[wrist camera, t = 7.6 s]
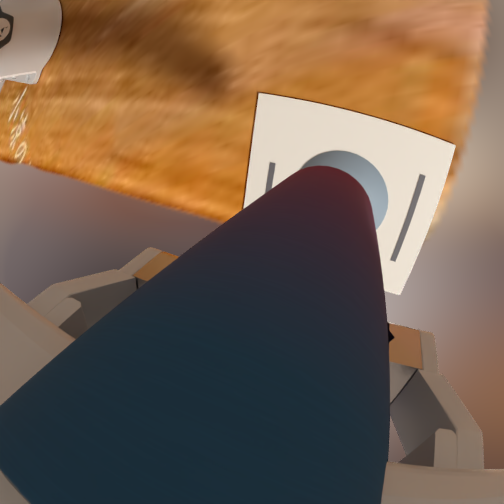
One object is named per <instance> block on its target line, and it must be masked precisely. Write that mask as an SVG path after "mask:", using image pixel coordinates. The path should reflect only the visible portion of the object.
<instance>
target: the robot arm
mask: <svg viewBox="0 0 504 504" xmlns="http://www.w3.org/2000/svg"><path fill="white" fill-rule="evenodd" d="M61 21H62V10H61V5H60V2H59V0H1V2H0V82H3V80H4V79H6V80H12V81H17V82H22V83H27V84H36V83H37V82H38V80H39V77H40V74H41V71H42V69H43V67H44V66H45V64H46V63H47V62H48V60H49V59H50V57H51V55H52V53H53V51H54V49H55V46H56V44H57V41H58V37H59V33H60V28H61ZM177 258H178V256H175V255H172V254H169V253H167V252H163V251H161V250H158V249H155V248H147V249H146V250H145V251H143V252H142V253H141V254H139V255H138V256H137V257H135V258H134V259H133V260H132V261H130V262H129V263H128V264H127V265H125V266H124V267H123V268H121V269H120V270H116V269H114V270H110V271H105V272H101V273H97V274H93V275H89V276H85V277H81V278H76V279H72V280H68V281H64V282H60V283H56V284H52V285H51V286H50V287H48V288H47V289H46V290H44V291H43V292H42V293H41V294H39V295H38V296H37V297H35V298H34V299H33V300H32V301H30V302H29V303H28V304H26V303H24V302H23V301H22V300H21V299H20V298H18V297H17V296H16V295H15V294H13V293H12V292H11V291H9V290H8V289H7V288H6V287H5V286H4V285H2V284H1V283H0V405H1V404H3V403H4V402H5V401H6V400H7V399H8V398H9V397H10V396H11V395H12V394H14V393H15V392H16V391H17V390H18V389H19V388H20V387H21V386H22V385H24V384H25V383H26V382H27V381H28V380H29V379H30V378H32V377H33V376H34V375H35V374H36V373H37V372H38V371H40V370H41V369H42V368H43V367H44V366H45V365H46V364H48V363H49V362H50V361H51V360H52V359H53V358H55V357H56V356H57V355H58V354H59V353H60V352H62V351H63V350H64V349H65V348H66V347H67V346H69V345H70V344H71V343H72V342H73V341H75V340H76V339H77V338H78V337H79V336H81V335H82V334H83V333H84V332H85V331H87V330H88V329H89V328H90V327H91V326H93V325H94V324H95V323H96V322H97V321H99V320H100V319H101V318H102V317H104V316H105V315H106V314H107V313H109V312H110V311H111V310H112V309H113V308H115V307H116V306H117V305H118V304H120V303H121V302H122V301H123V300H125V299H126V298H127V297H128V296H130V295H131V294H132V293H133V292H135V291H136V290H137V289H138V288H140V287H141V286H142V285H144V284H145V283H146V282H147V281H149V280H150V279H151V278H152V277H154V276H155V275H156V274H158V273H159V272H160V271H161V270H163V269H164V268H165V267H167V266H168V265H169V264H171V263H172V262H173V261H174V260H176V259H177ZM387 326H388V342H389V363H390V416H391V418H392V421H393V423H394V426H395V428H396V431H397V433H398V435H399V438H400V440H401V443H402V446H403V448H404V450H405V453H406V457H405V458H403V459H402V460H401V461H399V462H398V463H395V462H389V461H388V462H387V464H386V469H385V477H384V485H383V492H382V499H381V504H504V469H484V453H483V436H482V431H481V430H480V428H479V427H478V425H477V424H476V422H475V421H474V419H473V418H472V416H471V415H470V413H469V412H468V410H467V408H466V407H465V406H464V404H463V403H462V401H461V400H460V398H459V397H458V395H457V394H456V392H455V391H454V390H453V388H452V387H451V385H450V384H449V383H448V381H447V380H446V378H445V377H444V376H443V375H441V374H439V369H438V360H437V353H436V345H435V338H434V335H433V333H431V332H426V331H422V330H416V329H412V328H409V327H405V326H401V325H398V324H394V323H390V322H387ZM0 504H29V503H28V502H27V501H26V500H25V499H24V498H23V497H22V496H21V495H20V494H19V493H18V492H17V490H16V489H15V488H14V487H13V486H12V485H11V484H10V483H9V481H8V480H7V479H6V478H5V476H4V475H3V474H2V472H1V471H0Z"/></svg>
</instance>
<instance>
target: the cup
mask: <svg viewBox="0 0 504 504" xmlns="http://www.w3.org/2000/svg"><path fill="white" fill-rule="evenodd" d="M389 428H390V363H389V342H388V326H387V314H386V303H385V293H384V284H383V275H382V267H381V260H380V253H379V246H378V240H377V233H376V227H375V222H374V216H373V210H372V205H371V202H370V199H369V196H368V195H367V193H366V191H365V189H364V188H363V186H362V185H361V184H360V183H359V182H358V181H357V180H356V179H355V178H354V177H352V176H351V175H350V174H348V173H346V172H344V171H342V170H340V169H338V168H334V167H330V166H320V165H318V166H311V167H306V168H304V169H301V170H298V171H297V172H295V173H294V174H292V175H290V176H289V177H288V178H286V179H285V180H283V181H282V182H280V183H279V184H278V185H276V186H275V187H273V188H272V189H271V190H269V191H268V192H266V193H265V194H264V195H262V196H261V197H259V198H258V199H257V200H255V201H254V202H252V203H251V204H250V205H248V206H247V207H246V208H244V209H243V210H241V211H240V212H239V213H237V214H236V215H235V216H233V217H232V218H230V219H229V220H228V221H226V222H225V223H224V224H222V225H221V226H220V227H218V228H217V229H216V230H214V231H213V232H211V233H210V234H209V235H207V236H206V237H205V238H203V239H202V240H201V241H199V242H198V243H197V244H196V245H194V246H193V247H192V248H190V249H189V250H188V251H186V252H185V253H184V254H182V255H181V256H180V257H178V258H177V259H176V260H174V261H173V262H172V263H171V264H169V265H168V266H167V267H165V268H164V269H163V270H161V271H160V272H159V273H158V274H156V275H155V276H154V277H152V278H151V279H150V280H149V281H147V282H146V283H145V284H144V285H142V286H141V287H140V288H138V289H137V290H136V291H135V292H133V293H132V294H131V295H130V296H128V297H127V298H126V299H125V300H123V301H122V302H121V303H120V304H118V305H117V306H116V307H115V308H113V309H112V310H111V311H110V312H109V313H107V314H106V315H105V316H104V317H102V318H101V319H100V320H99V321H97V322H96V323H95V324H94V325H93V326H91V327H90V328H89V329H88V330H87V331H85V332H84V333H83V334H82V335H81V336H79V337H78V338H77V339H76V340H75V341H73V342H72V343H71V344H70V345H69V346H67V347H66V348H65V349H64V350H63V351H62V352H60V353H59V354H58V355H57V356H56V357H55V358H53V359H52V360H51V361H50V362H49V363H48V364H46V365H45V366H44V367H43V368H42V369H41V370H40V371H38V372H37V373H36V374H35V375H34V376H33V377H32V378H30V379H29V380H28V381H27V382H26V383H25V384H24V385H22V386H21V387H20V388H19V389H18V390H17V391H16V392H15V393H14V394H12V395H11V396H10V397H9V398H8V399H7V400H6V401H5V402H4V403H3V404H1V405H0V471H1V472H2V474H3V475H4V476H5V478H6V479H7V480H8V481H9V483H10V484H11V485H12V486H13V487H14V488H15V489H16V490H17V492H18V493H19V494H20V495H21V496H22V497H23V498H24V499H25V500H26V501H27V502H28V503H29V504H381V499H382V492H383V485H384V477H385V469H386V464H387V462H388V451H389Z"/></svg>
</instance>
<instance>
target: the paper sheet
mask: <svg viewBox="0 0 504 504" xmlns="http://www.w3.org/2000/svg"><path fill="white" fill-rule="evenodd" d="M455 146H456V145H453V144H451V143H448V142H446V141H443V140H441V139H438V138H435V137H433V136H430V135H427V134H425V133H422V132H419V131H416V130H413V129H410V128H407V127H404V126H401V125H398V124H395V123H392V122H388V121H385V120H382V119H378V118H375V117H371V116H368V115H364V114H360V113H357V112H353V111H349V110H345V109H341V108H337V107H332V106H328V105H323V104H319V103H314V102H309V101H304V100H299V99H294V98H288V97H282V96H276V95H270V94H263V93H259V96H258V103H257V110H256V118H255V125H254V132H253V140H252V147H251V155H250V163H249V170H248V178H247V186H246V194H245V202H244V208H246V207H247V206H248V205H250V204H251V203H252V202H254V201H255V200H257V199H258V198H259V197H261V196H262V195H264V194H265V193H266V192H268V191H269V190H271V189H272V188H273V187H275V186H276V185H278V184H279V183H280V182H282V181H283V180H285V179H286V178H288V177H289V176H290V175H292V174H294V173H295V172H297V171H298V170H301V169H304V168H306V167H311V166H318V165H320V166H330V167H334V168H338V169H340V170H342V171H344V172H346V173H348V174H350V175H351V176H352V177H354V178H355V179H356V180H357V181H358V182H359V183H360V184H361V185H362V186H363V188H364V189H365V191H366V193H367V195H368V196H369V199H370V202H371V205H372V210H373V216H374V222H375V227H376V233H377V240H378V246H379V253H380V260H381V267H382V275H383V284H384V291H387V292H391V293H394V294H397V295H400V294H401V292H402V290H403V287H404V285H405V283H406V281H407V279H408V277H409V275H410V272H411V270H412V268H413V265H414V263H415V261H416V258H417V256H418V254H419V252H420V249H421V247H422V244H423V242H424V239H425V237H426V234H427V232H428V229H429V227H430V224H431V221H432V219H433V216H434V213H435V210H436V208H437V205H438V202H439V199H440V196H441V193H442V190H443V187H444V184H445V181H446V177H447V174H448V171H449V168H450V164H451V161H452V157H453V154H454V150H455Z"/></svg>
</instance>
